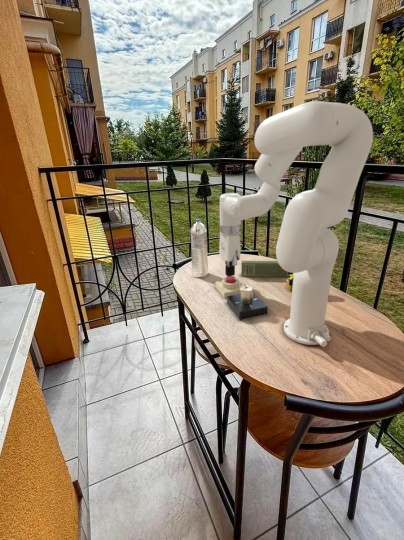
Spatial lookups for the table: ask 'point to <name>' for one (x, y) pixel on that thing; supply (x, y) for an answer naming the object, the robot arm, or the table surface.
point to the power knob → (246, 294)
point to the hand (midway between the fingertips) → (230, 274)
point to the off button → (230, 279)
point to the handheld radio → (263, 269)
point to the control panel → (247, 307)
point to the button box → (228, 287)
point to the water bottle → (199, 249)
